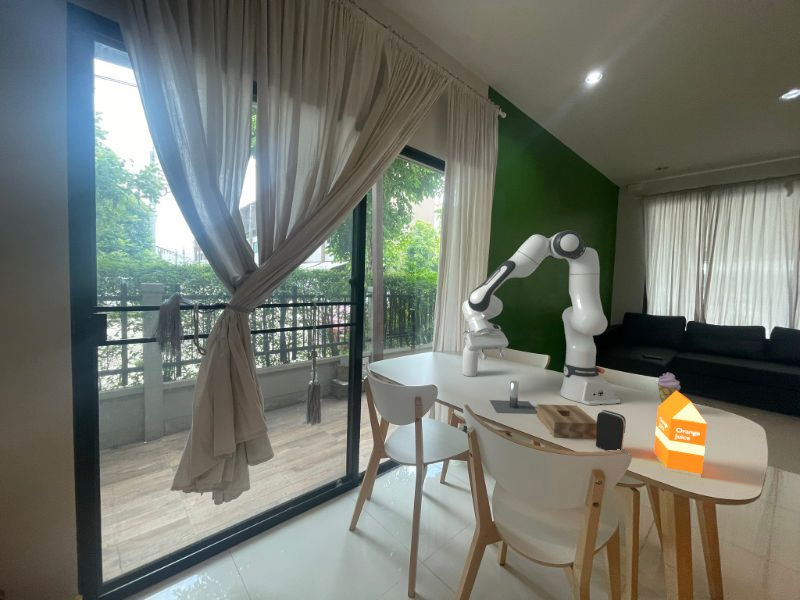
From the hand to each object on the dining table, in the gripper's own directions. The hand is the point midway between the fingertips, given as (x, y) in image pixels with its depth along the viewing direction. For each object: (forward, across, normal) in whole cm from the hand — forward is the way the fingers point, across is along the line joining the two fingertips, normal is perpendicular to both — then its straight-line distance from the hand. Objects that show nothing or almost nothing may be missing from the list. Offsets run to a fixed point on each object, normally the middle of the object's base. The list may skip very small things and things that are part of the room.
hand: (494, 357), depth 134 cm
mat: (+21, 0, +3) cm, 21 cm away
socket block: (+34, +6, -11) cm, 36 cm away
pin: (+20, 0, +3) cm, 21 cm away
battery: (+44, +7, -21) cm, 50 cm away
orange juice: (+53, +16, -30) cm, 63 cm away
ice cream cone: (+37, +56, -15) cm, 68 cm away
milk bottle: (-7, +8, +32) cm, 34 cm away
